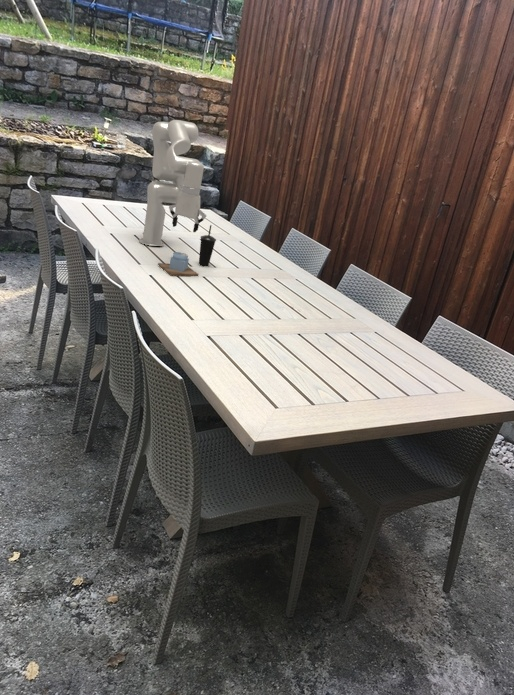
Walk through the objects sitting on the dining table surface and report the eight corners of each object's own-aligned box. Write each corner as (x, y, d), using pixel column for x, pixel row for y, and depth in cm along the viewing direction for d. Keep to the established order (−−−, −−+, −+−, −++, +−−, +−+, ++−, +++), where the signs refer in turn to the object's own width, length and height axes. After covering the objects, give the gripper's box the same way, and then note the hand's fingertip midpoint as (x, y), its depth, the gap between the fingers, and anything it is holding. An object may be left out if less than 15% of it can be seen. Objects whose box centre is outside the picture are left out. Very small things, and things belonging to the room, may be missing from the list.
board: (157, 265, 270) (158, 263, 270) (184, 266, 278) (185, 264, 278) (170, 276, 260) (170, 273, 259) (198, 276, 268) (198, 274, 267)
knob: (168, 268, 266) (171, 253, 263) (173, 265, 272) (176, 250, 269) (182, 272, 265) (185, 256, 262) (187, 268, 271) (190, 253, 268)
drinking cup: (212, 264, 291) (219, 225, 283) (209, 268, 284) (217, 228, 276) (197, 261, 291) (204, 222, 283) (194, 265, 284) (201, 224, 276)
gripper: (169, 186, 252) (163, 225, 259) (207, 196, 250) (200, 235, 257) (175, 185, 259) (169, 222, 266) (212, 194, 257) (205, 232, 264)
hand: (184, 228), depth 261 cm, fingers open, 9 cm apart
